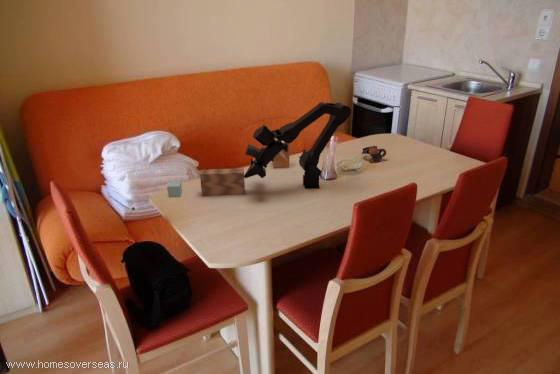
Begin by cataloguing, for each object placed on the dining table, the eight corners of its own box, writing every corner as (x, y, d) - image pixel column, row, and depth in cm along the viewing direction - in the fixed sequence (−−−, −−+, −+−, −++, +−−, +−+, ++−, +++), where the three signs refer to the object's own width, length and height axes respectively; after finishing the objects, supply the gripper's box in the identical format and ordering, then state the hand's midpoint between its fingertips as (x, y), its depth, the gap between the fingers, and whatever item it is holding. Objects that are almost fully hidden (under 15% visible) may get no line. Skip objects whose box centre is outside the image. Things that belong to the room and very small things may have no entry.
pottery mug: (363, 164, 214) (360, 147, 214) (364, 165, 223) (361, 150, 224) (387, 159, 211) (384, 142, 212) (388, 161, 220) (385, 145, 221)
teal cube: (182, 192, 186) (181, 181, 184) (180, 197, 182) (179, 186, 180) (170, 192, 186) (169, 181, 184) (168, 197, 182) (167, 186, 179)
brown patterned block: (244, 189, 188) (243, 168, 184) (244, 194, 183) (243, 172, 179) (202, 191, 187) (200, 169, 182) (201, 196, 182) (199, 174, 178)
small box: (273, 168, 209) (272, 142, 203) (271, 163, 215) (271, 138, 209) (289, 167, 210) (289, 141, 204) (287, 162, 215) (287, 137, 210)
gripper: (256, 132, 184) (231, 157, 188) (256, 146, 167) (229, 173, 171) (274, 149, 188) (250, 173, 192) (277, 165, 171) (250, 191, 175)
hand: (244, 177), depth 182 cm, fingers closed, pressing on brown patterned block
